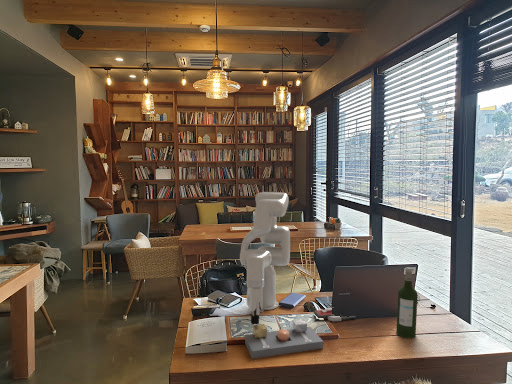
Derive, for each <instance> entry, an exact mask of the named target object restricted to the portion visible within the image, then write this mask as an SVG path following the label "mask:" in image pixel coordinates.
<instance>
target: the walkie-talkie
mask: <svg viewBox="0 0 512 384" xmlns="http://www.w3.org/2000/svg"><path fill="white" fill-rule="evenodd" d="M332 308H333V307H326V308H325V309H322V308H321V309H316V310H313V315H314V314H315V315H316V316H317V317H318V318H324V319H328V320H327V321H330V322H341V321H342V320H347V319H348V320H349V319H352V318H356V315H351V316H349V315H348V316H349V317H347V316H341V315H340V316H341V317H340V316H335V315H334V314H332V312H331V311H332ZM314 318H316V317H315V316H314Z"/></svg>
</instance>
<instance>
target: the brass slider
mask: <svg viewBox="0 0 512 384" xmlns="http://www.w3.org/2000/svg"><path fill="white" fill-rule="evenodd" d="M267 332H268V328H267V326H266V324H265V323H262V324H254V325H252V334H253V335H254V337H255V338H260V337H267Z"/></svg>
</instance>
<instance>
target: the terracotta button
mask: <svg viewBox="0 0 512 384" xmlns="http://www.w3.org/2000/svg"><path fill="white" fill-rule="evenodd" d="M277 331H278V332H277V339H278V340H279V341H283V342H284V341H288V340H289V331H287V329H283V328H282V329H278V330H277Z"/></svg>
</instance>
